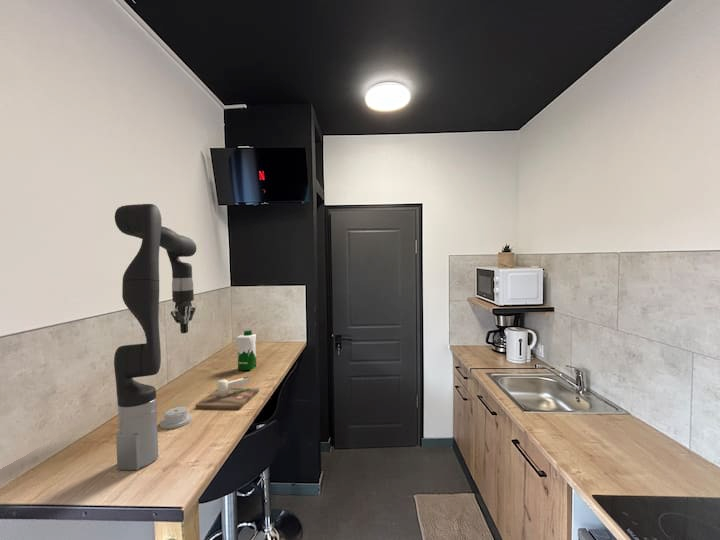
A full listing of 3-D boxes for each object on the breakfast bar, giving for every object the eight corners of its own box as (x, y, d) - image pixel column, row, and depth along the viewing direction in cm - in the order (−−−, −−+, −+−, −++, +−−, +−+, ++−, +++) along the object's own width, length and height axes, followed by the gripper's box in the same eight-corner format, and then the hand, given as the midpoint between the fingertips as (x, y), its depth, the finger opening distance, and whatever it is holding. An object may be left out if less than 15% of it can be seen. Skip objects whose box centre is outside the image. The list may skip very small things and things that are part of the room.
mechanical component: (153, 428, 117) (178, 430, 115) (152, 416, 117) (177, 417, 115) (174, 416, 127) (198, 417, 125) (174, 404, 127) (197, 405, 125)
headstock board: (240, 409, 131) (240, 404, 131) (195, 408, 133) (195, 404, 133) (258, 391, 149) (258, 387, 149) (219, 391, 151) (219, 387, 151)
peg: (249, 389, 146) (249, 376, 146) (219, 398, 138) (219, 383, 138) (246, 387, 149) (245, 374, 149) (216, 395, 141) (215, 381, 141)
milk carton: (258, 366, 186) (257, 330, 186) (250, 371, 177) (249, 333, 177) (243, 366, 188) (242, 330, 187) (235, 371, 179) (233, 333, 178)
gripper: (181, 290, 128) (183, 336, 129) (201, 288, 142) (202, 329, 142) (162, 290, 129) (164, 336, 130) (184, 288, 142) (185, 329, 143)
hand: (184, 332), depth 136 cm, fingers closed
